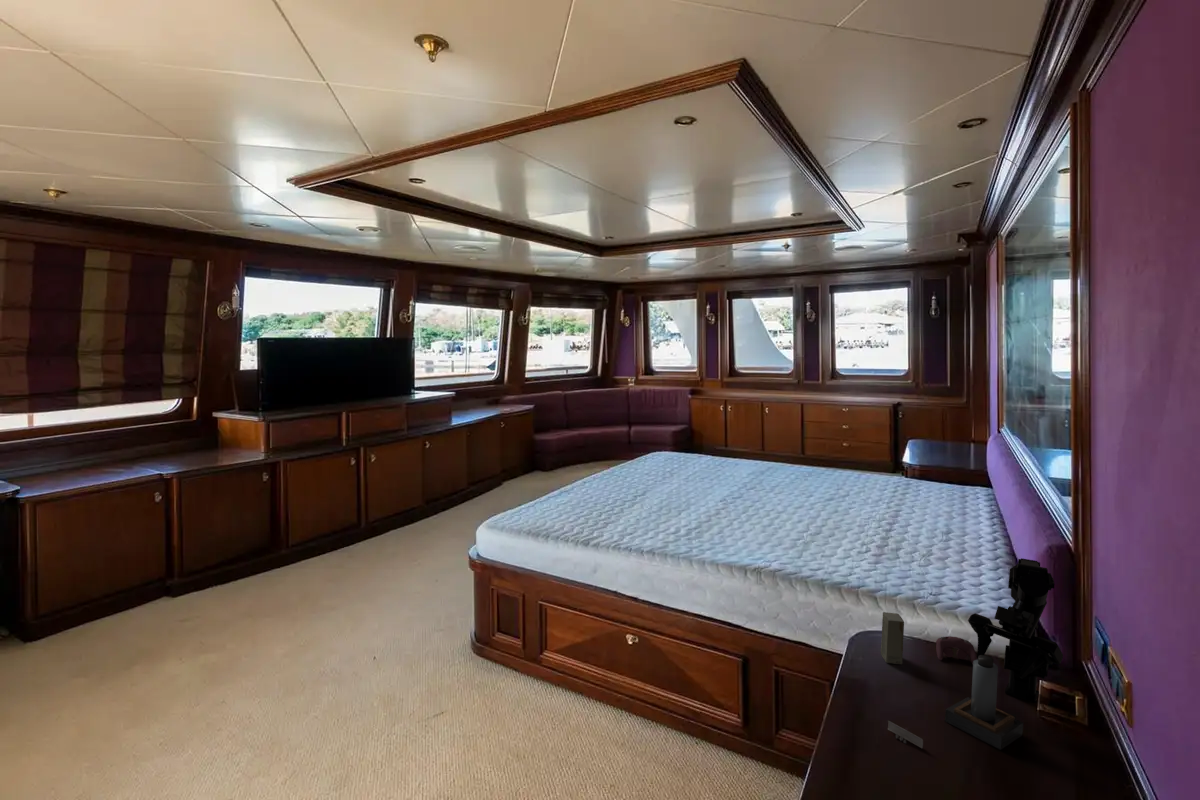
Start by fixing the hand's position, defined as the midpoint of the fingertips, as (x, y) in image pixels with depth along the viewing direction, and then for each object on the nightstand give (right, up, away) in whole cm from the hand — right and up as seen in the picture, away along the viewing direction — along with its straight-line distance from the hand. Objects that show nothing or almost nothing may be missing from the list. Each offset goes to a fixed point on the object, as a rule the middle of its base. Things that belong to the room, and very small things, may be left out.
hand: (998, 668), depth 144 cm
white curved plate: (-27, -14, -7) cm, 31 cm away
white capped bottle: (-5, -10, -2) cm, 11 cm away
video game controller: (+7, -11, +30) cm, 32 cm away
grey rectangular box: (-5, -13, -2) cm, 14 cm away
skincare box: (-11, -10, +29) cm, 33 cm away
